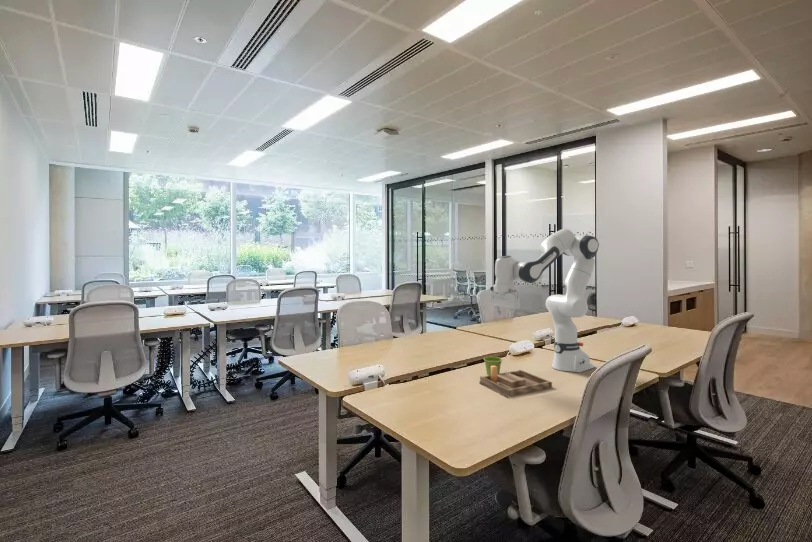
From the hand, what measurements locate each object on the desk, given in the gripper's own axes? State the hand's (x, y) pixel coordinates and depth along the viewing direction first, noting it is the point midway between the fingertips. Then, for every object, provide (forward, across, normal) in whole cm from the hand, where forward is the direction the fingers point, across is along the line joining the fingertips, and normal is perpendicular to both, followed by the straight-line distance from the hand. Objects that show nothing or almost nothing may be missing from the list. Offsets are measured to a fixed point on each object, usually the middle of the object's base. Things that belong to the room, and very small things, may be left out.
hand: (504, 315), depth 200 cm
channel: (+31, -13, +4) cm, 34 cm away
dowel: (+30, -7, +12) cm, 33 cm away
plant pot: (+31, +5, +4) cm, 32 cm away
